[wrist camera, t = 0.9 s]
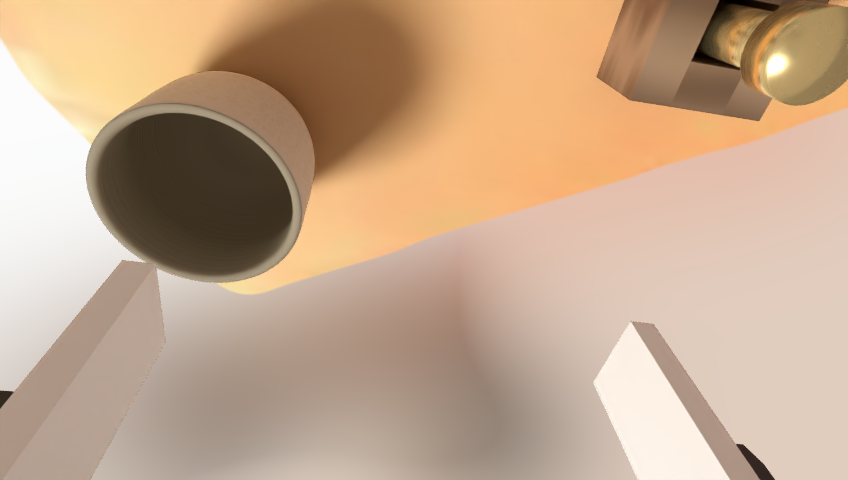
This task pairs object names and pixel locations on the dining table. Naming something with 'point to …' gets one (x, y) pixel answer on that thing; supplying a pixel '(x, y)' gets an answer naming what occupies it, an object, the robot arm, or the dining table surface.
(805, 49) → the knob
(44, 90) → the dining table surface
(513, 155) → the dining table surface
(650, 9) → the mount
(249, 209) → the planter
